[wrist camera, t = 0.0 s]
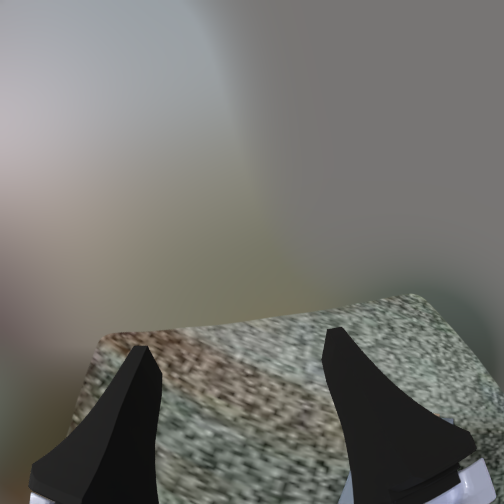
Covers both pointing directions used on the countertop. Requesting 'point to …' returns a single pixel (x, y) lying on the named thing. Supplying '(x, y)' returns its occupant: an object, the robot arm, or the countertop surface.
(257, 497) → the countertop surface
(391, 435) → the robot arm
